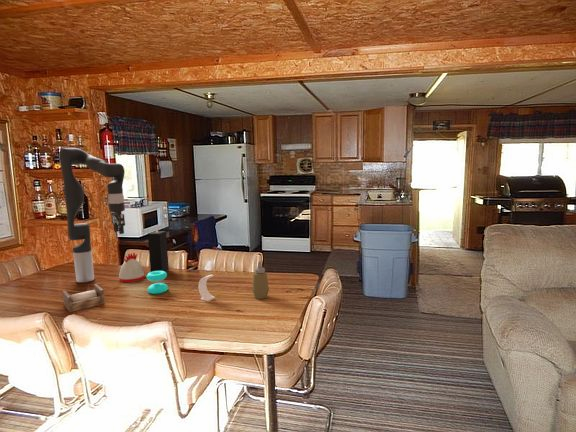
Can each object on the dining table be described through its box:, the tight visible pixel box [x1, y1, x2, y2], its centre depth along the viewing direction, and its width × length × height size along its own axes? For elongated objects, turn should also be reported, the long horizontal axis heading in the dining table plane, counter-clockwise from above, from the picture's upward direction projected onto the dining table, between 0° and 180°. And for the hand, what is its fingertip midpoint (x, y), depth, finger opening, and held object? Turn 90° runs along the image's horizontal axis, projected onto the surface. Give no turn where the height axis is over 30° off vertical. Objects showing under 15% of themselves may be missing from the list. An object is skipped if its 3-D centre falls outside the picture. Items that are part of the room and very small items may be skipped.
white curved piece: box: [197, 274, 216, 302], centre depth 181 cm, size 5×6×12 cm
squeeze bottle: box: [252, 260, 270, 300], centre depth 181 cm, size 8×8×18 cm
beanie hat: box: [118, 252, 146, 283], centre depth 217 cm, size 14×14×15 cm
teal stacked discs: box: [145, 271, 169, 295], centre depth 194 cm, size 10×10×10 cm
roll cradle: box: [62, 283, 105, 313], centre depth 178 cm, size 15×12×7 cm
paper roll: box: [70, 289, 97, 303], centre depth 178 cm, size 11×5×5 cm, turn 131°
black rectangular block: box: [147, 226, 170, 273], centre depth 228 cm, size 8×8×28 cm
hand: (119, 232), depth 197 cm, fingers open, 8 cm apart
